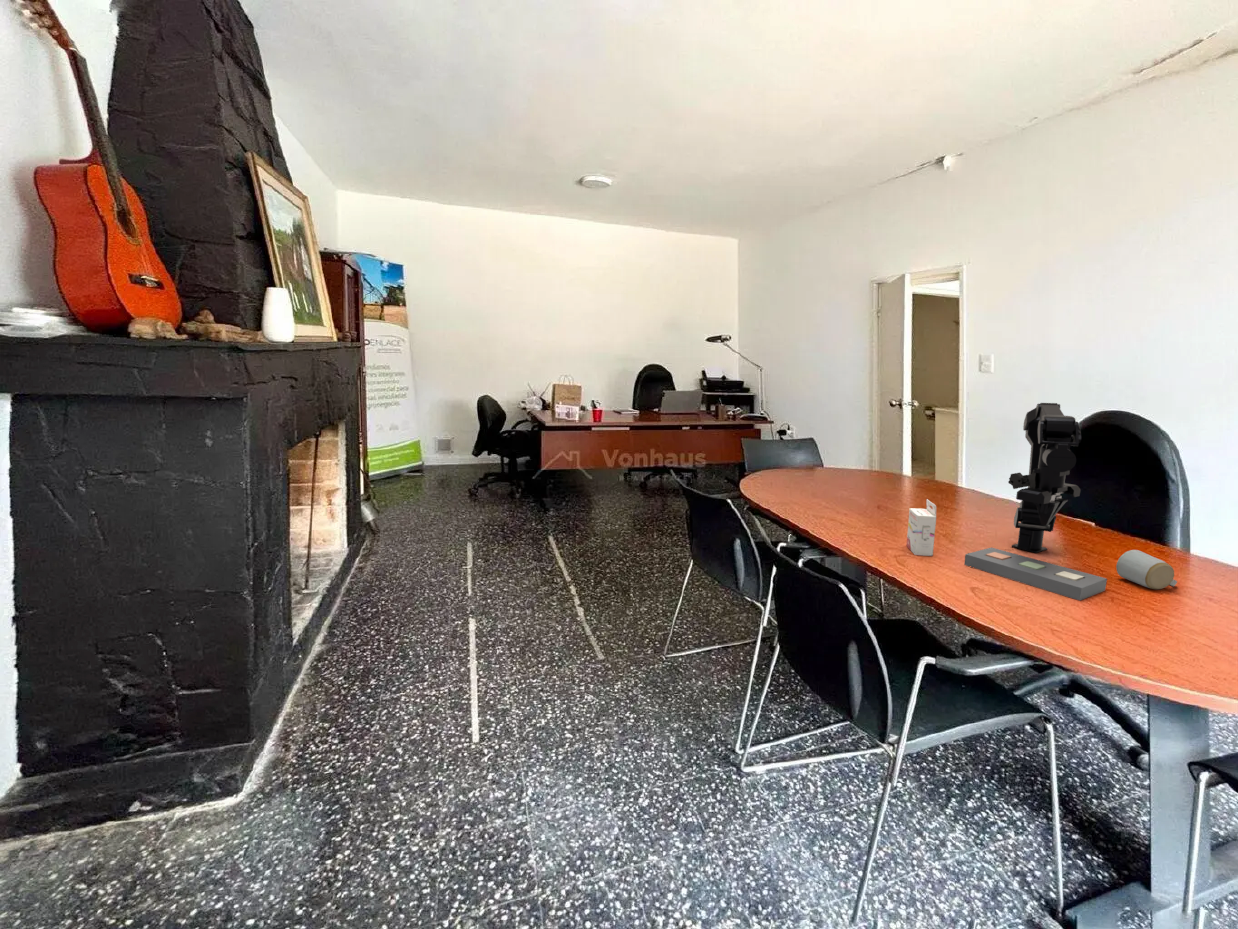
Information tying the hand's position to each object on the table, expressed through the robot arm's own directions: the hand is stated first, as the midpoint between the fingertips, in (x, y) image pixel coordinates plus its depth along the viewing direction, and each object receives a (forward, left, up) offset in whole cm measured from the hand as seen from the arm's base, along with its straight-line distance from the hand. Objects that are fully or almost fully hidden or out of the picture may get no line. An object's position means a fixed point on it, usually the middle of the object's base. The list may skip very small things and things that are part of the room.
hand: (1044, 525), depth 143 cm
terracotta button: (+8, -6, -11) cm, 15 cm away
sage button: (+8, +2, -11) cm, 14 cm away
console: (+8, +2, -12) cm, 15 cm away
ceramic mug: (-12, +18, -12) cm, 25 cm away
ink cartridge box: (+14, -24, -12) cm, 30 cm away
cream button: (+8, +10, -11) cm, 17 cm away
